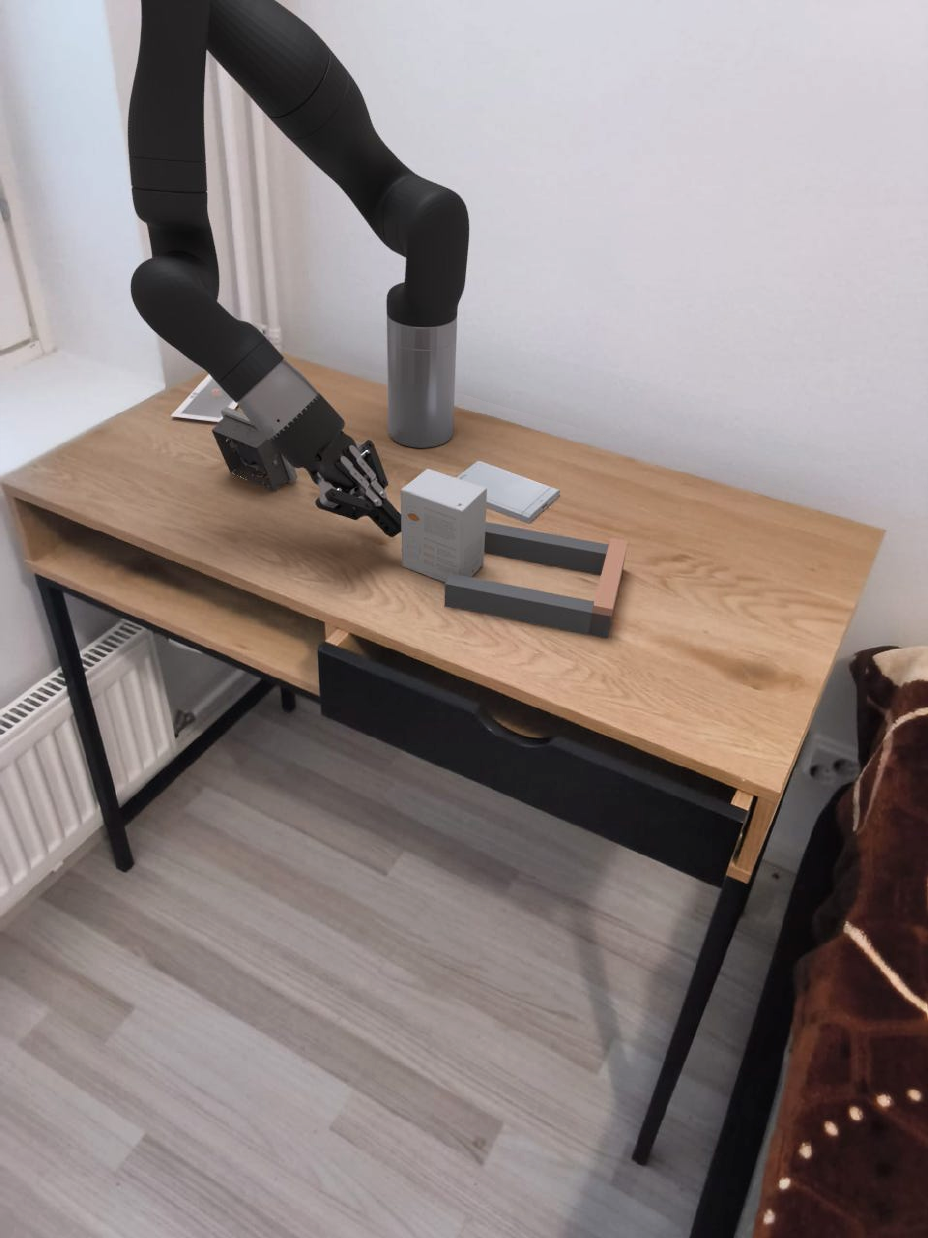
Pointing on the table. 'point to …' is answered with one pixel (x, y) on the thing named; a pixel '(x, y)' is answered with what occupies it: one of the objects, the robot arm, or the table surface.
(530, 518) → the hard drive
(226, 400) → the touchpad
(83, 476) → the table surface
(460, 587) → the dock
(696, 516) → the table surface
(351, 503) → the robot arm
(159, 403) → the table surface
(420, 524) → the small box
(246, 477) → the electrical switch
